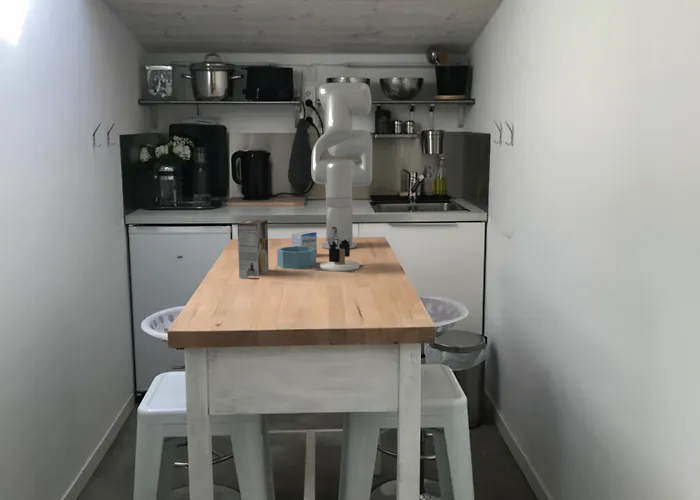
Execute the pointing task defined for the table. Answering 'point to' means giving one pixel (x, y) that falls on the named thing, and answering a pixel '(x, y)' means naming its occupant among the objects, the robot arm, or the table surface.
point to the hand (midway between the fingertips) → (339, 259)
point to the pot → (296, 257)
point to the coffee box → (253, 248)
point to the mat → (341, 271)
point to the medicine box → (305, 239)
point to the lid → (340, 264)
